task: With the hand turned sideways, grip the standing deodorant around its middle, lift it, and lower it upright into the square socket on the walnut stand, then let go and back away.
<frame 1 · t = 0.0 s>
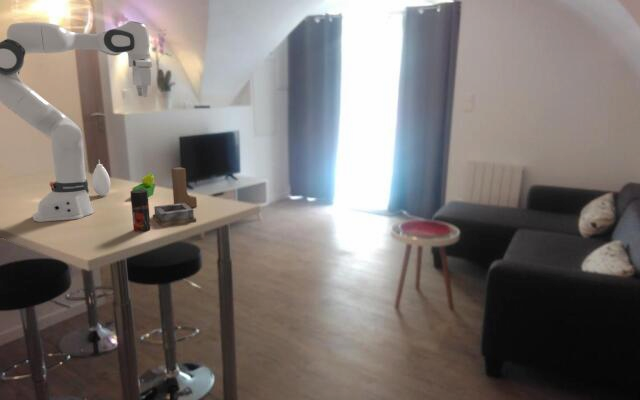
hand: (142, 96, 201), 48 cm above the table, tool pointing down, fingers open, 8 cm apart
deodorant: (142, 230, 178), on the table
white teardrop ornament: (102, 196, 229), on the table
socket stand: (174, 219, 191), on the table
wooden block: (185, 208, 209), on the table
fruit basket: (146, 196, 229), on the table
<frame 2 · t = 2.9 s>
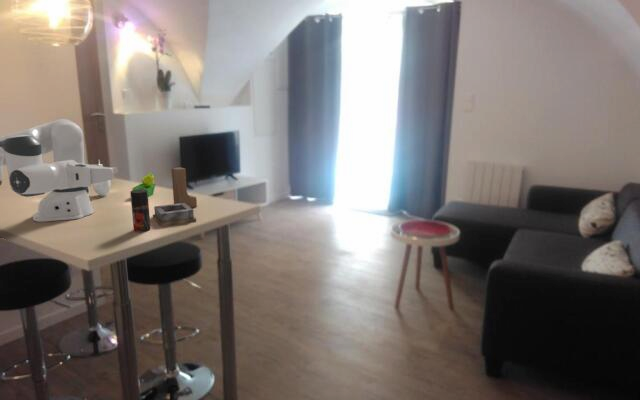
hand: (106, 168, 161), 25 cm above the table, tool horizontal, fingers open, 8 cm apart
nothing on the table moved.
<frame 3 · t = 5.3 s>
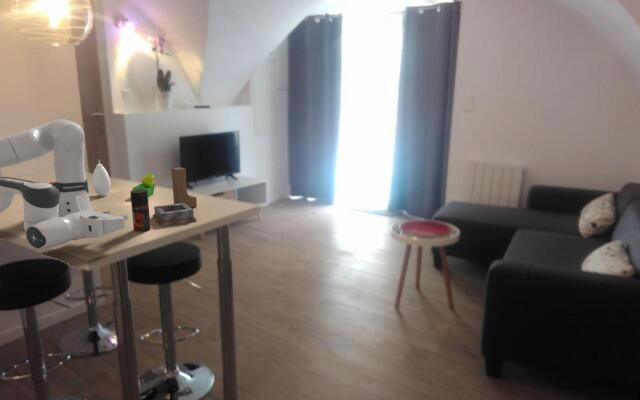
hand: (117, 214, 167), 8 cm above the table, tool horizontal, fingers open, 8 cm apart
nothing on the table moved.
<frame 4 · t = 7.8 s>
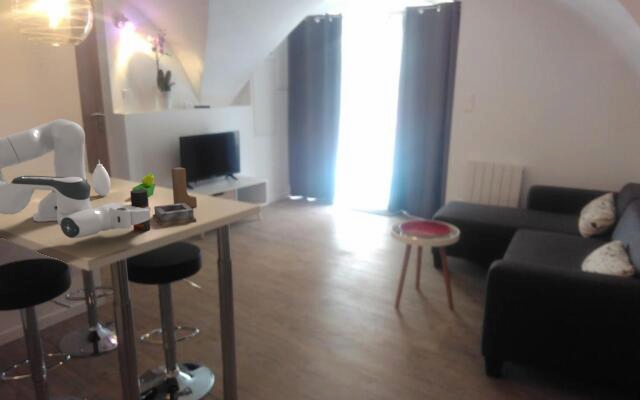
hand: (142, 207, 176), 9 cm above the table, tool horizontal, fingers closed on deodorant, 6 cm apart
deodorant: (142, 230, 178), on the table, touching gripper
everything else where it was.
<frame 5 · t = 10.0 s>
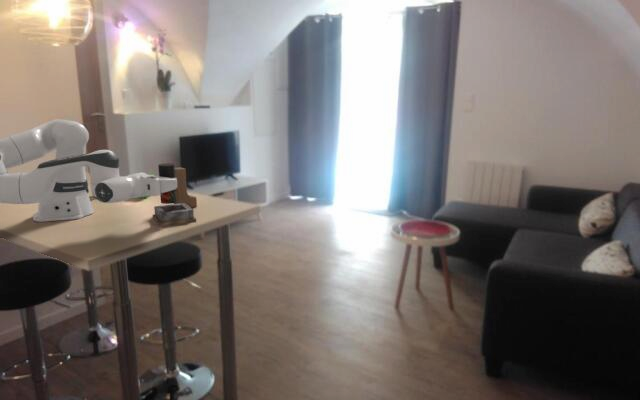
hand: (169, 178, 185), 17 cm above the table, tool horizontal, fingers closed on deodorant, 6 cm apart
deodorant: (168, 202, 187), point 8 cm above the table, touching gripper
everything else where it was.
when the fingers open (11 cm above the table, at t = 12.4 s): deodorant stays where it is, resting on socket stand.
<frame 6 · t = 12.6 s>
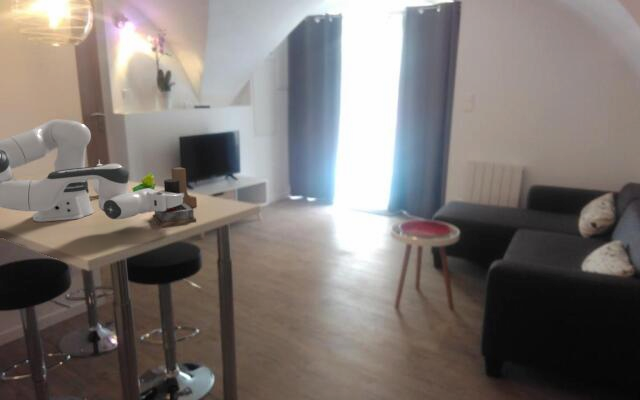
hand: (174, 193, 189), 11 cm above the table, tool horizontal, fingers open, 8 cm apart
deodorant: (174, 217, 191), point 1 cm above the table, touching socket stand
everything else where it was.
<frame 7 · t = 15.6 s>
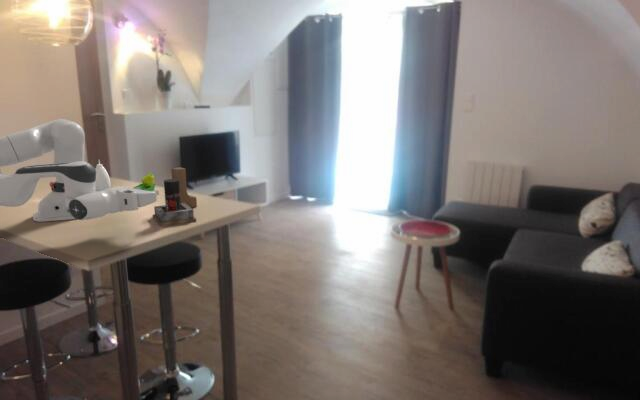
hand: (148, 191, 178), 14 cm above the table, tool horizontal, fingers open, 8 cm apart
nothing on the table moved.
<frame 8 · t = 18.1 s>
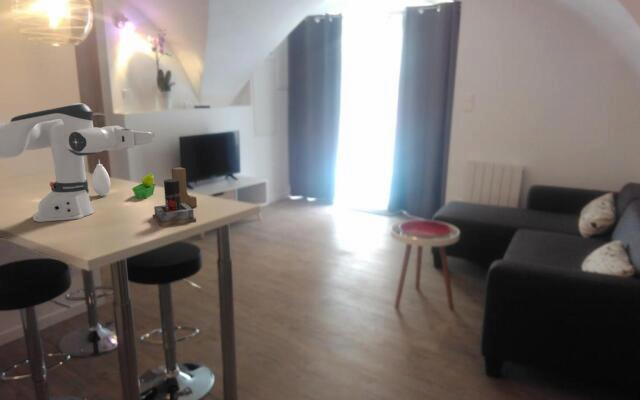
hand: (144, 134, 186), 34 cm above the table, tool horizontal, fingers open, 8 cm apart
nothing on the table moved.
at the end: deodorant 0.1 cm off-centre on the socket stand, point 1.0 cm above the socket stand's base; deodorant tilted 0°; the gripper is holding nothing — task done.
